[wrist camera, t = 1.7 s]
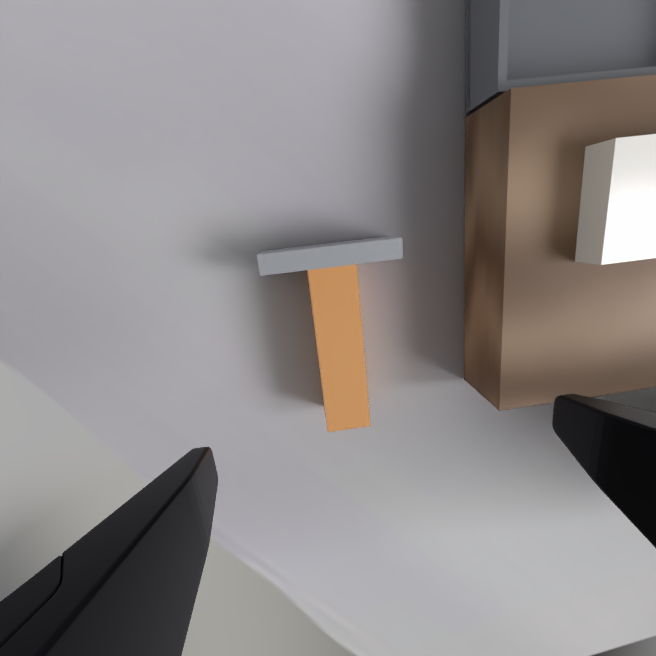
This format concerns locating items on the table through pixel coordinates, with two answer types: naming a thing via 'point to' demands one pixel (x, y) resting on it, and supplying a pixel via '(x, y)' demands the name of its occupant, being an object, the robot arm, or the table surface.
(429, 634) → the table surface
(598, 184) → the tile
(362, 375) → the scraper
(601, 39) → the box
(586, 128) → the tan block
